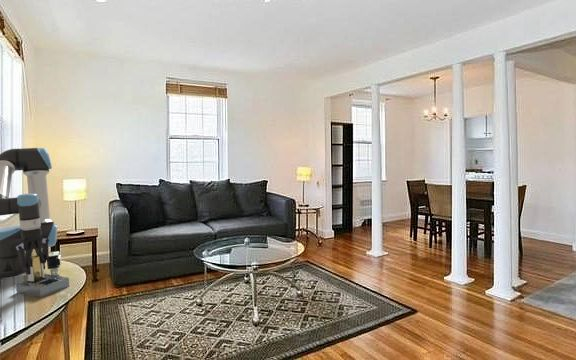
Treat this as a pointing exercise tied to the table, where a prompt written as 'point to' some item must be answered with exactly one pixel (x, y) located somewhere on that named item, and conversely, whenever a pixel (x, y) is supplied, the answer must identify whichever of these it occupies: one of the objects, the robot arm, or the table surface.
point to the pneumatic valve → (54, 262)
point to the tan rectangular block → (36, 268)
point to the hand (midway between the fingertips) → (36, 278)
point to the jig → (43, 286)
